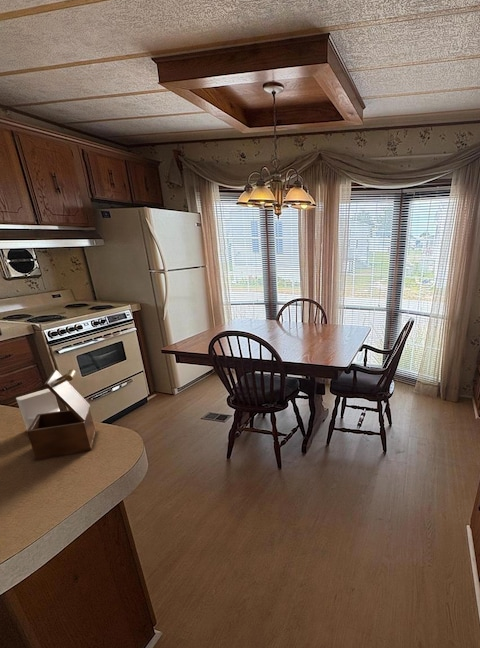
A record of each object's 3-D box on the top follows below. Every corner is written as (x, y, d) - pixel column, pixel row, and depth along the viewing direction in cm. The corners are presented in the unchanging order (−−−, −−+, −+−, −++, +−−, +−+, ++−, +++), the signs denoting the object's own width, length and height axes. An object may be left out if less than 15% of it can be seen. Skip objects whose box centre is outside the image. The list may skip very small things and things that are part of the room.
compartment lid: (44, 384, 87) (64, 374, 88) (53, 371, 96) (71, 361, 97) (82, 422, 94) (100, 412, 95) (87, 406, 103) (104, 397, 104)
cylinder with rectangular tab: (54, 419, 113) (44, 385, 108) (70, 426, 109) (60, 392, 105) (22, 431, 105) (9, 395, 101) (37, 439, 102) (25, 402, 97)
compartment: (36, 459, 92) (26, 431, 89) (45, 440, 101) (37, 414, 98) (91, 449, 98) (83, 422, 94) (95, 432, 106) (89, 407, 103)
